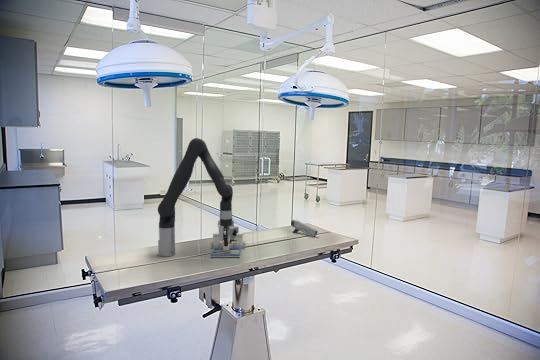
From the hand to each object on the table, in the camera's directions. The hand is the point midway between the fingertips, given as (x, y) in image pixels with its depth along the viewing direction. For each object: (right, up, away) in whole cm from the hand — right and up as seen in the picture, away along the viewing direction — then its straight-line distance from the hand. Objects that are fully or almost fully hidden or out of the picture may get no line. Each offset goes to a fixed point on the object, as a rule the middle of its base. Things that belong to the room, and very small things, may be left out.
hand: (226, 245), depth 215 cm
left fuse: (-8, -4, +12) cm, 14 cm away
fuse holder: (0, -5, +12) cm, 13 cm away
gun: (+52, -2, +51) cm, 73 cm away
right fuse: (+7, -4, +12) cm, 14 cm away
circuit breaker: (-2, -4, +28) cm, 29 cm away
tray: (0, -6, 0) cm, 6 cm away
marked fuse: (0, -3, 0) cm, 3 cm away
